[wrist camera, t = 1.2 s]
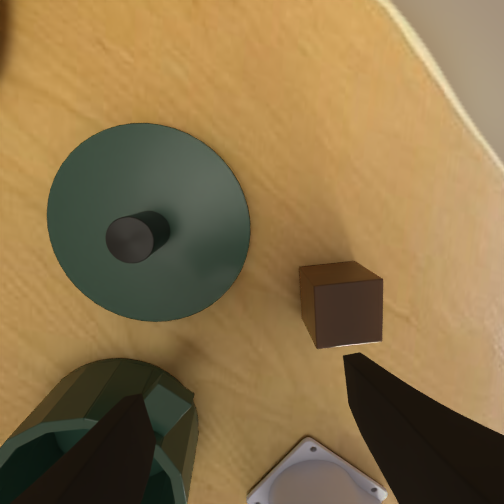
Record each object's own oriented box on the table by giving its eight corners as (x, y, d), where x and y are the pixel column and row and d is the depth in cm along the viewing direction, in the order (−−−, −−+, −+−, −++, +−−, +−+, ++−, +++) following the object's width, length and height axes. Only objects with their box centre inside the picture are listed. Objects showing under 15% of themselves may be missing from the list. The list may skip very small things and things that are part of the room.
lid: (287, 214, 19) (302, 223, 14) (176, 346, 21) (158, 390, 16) (130, 80, 17) (90, 41, 12) (20, 240, 18) (-50, 258, 14)
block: (355, 260, 20) (383, 278, 16) (355, 313, 21) (382, 342, 17) (298, 266, 20) (313, 286, 16) (301, 319, 21) (316, 349, 17)
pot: (249, 387, 22) (253, 455, 16) (124, 523, 24) (91, 622, 19) (123, 301, 20) (79, 345, 14) (0, 458, 22) (-78, 548, 17)
